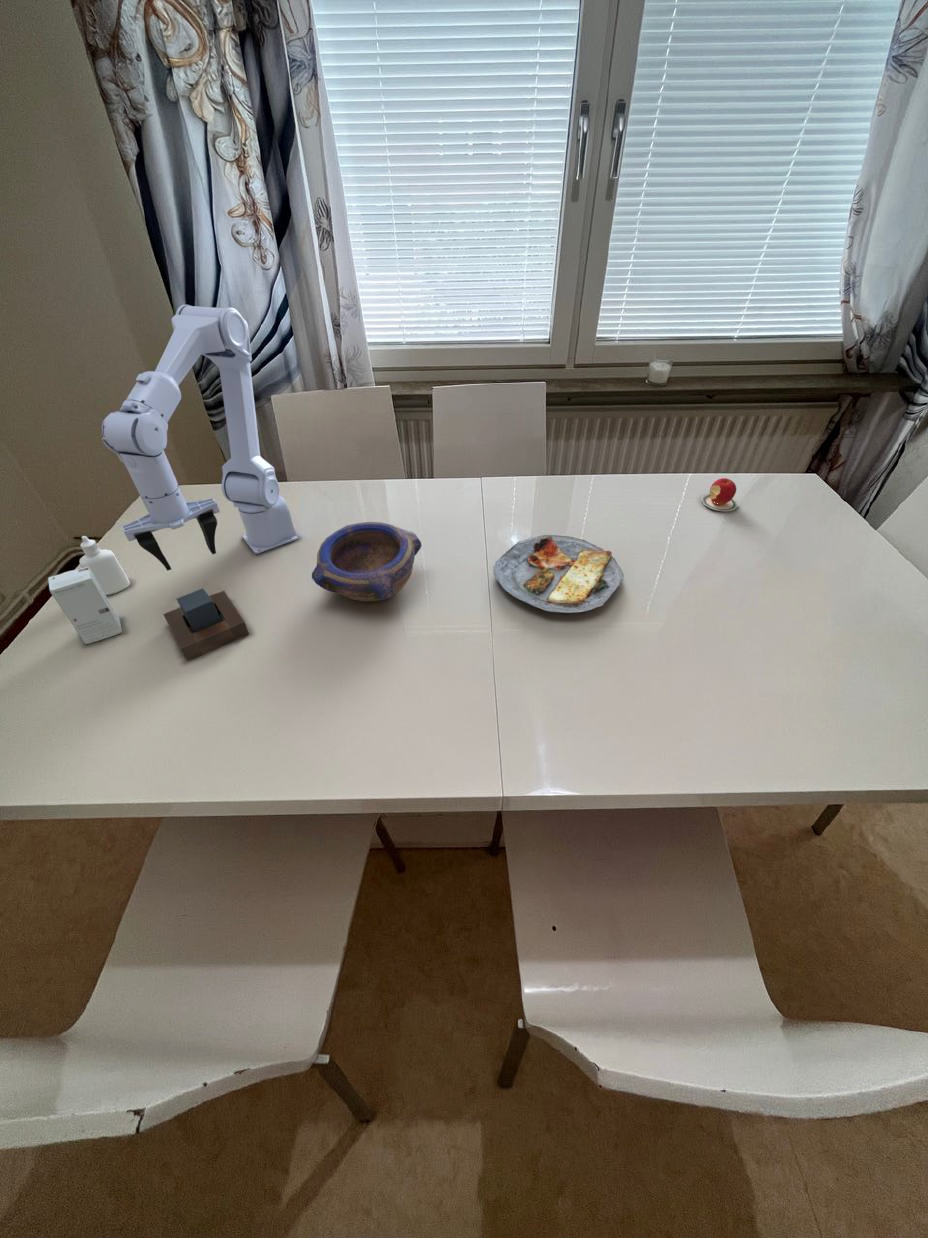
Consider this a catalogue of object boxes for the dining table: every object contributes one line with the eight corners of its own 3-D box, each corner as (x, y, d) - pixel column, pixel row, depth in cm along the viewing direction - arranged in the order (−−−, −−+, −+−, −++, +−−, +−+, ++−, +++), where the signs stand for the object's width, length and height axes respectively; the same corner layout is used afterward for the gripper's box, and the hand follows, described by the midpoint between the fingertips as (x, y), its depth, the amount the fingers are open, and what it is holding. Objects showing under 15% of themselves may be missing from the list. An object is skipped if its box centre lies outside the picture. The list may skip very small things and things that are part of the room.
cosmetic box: (85, 646, 89) (46, 592, 80) (83, 630, 91) (45, 577, 83) (125, 632, 91) (91, 578, 83) (121, 617, 94) (88, 564, 86)
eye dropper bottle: (103, 582, 101) (71, 531, 93) (133, 580, 102) (104, 528, 94) (95, 597, 98) (61, 545, 90) (126, 594, 99) (96, 542, 91)
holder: (229, 602, 97) (224, 590, 95) (249, 634, 91) (244, 621, 89) (169, 626, 92) (163, 613, 90) (186, 661, 86) (180, 648, 84)
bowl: (306, 605, 96) (294, 562, 90) (353, 552, 109) (345, 511, 102) (392, 628, 92) (386, 585, 85) (431, 570, 104) (429, 528, 97)
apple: (732, 516, 119) (742, 491, 115) (697, 506, 122) (705, 481, 118) (739, 501, 124) (749, 476, 120) (705, 492, 127) (714, 468, 123)
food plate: (537, 531, 115) (538, 517, 112) (637, 567, 105) (641, 553, 102) (473, 589, 100) (474, 575, 97) (583, 638, 90) (586, 623, 88)
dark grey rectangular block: (216, 617, 94) (202, 587, 89) (225, 630, 91) (212, 600, 87) (191, 628, 92) (176, 598, 87) (200, 642, 89) (185, 612, 85)
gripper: (114, 515, 76) (152, 586, 85) (213, 485, 82) (239, 554, 92) (104, 496, 80) (142, 566, 89) (200, 469, 86) (225, 537, 96)
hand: (190, 559), depth 91 cm, fingers open, 7 cm apart
